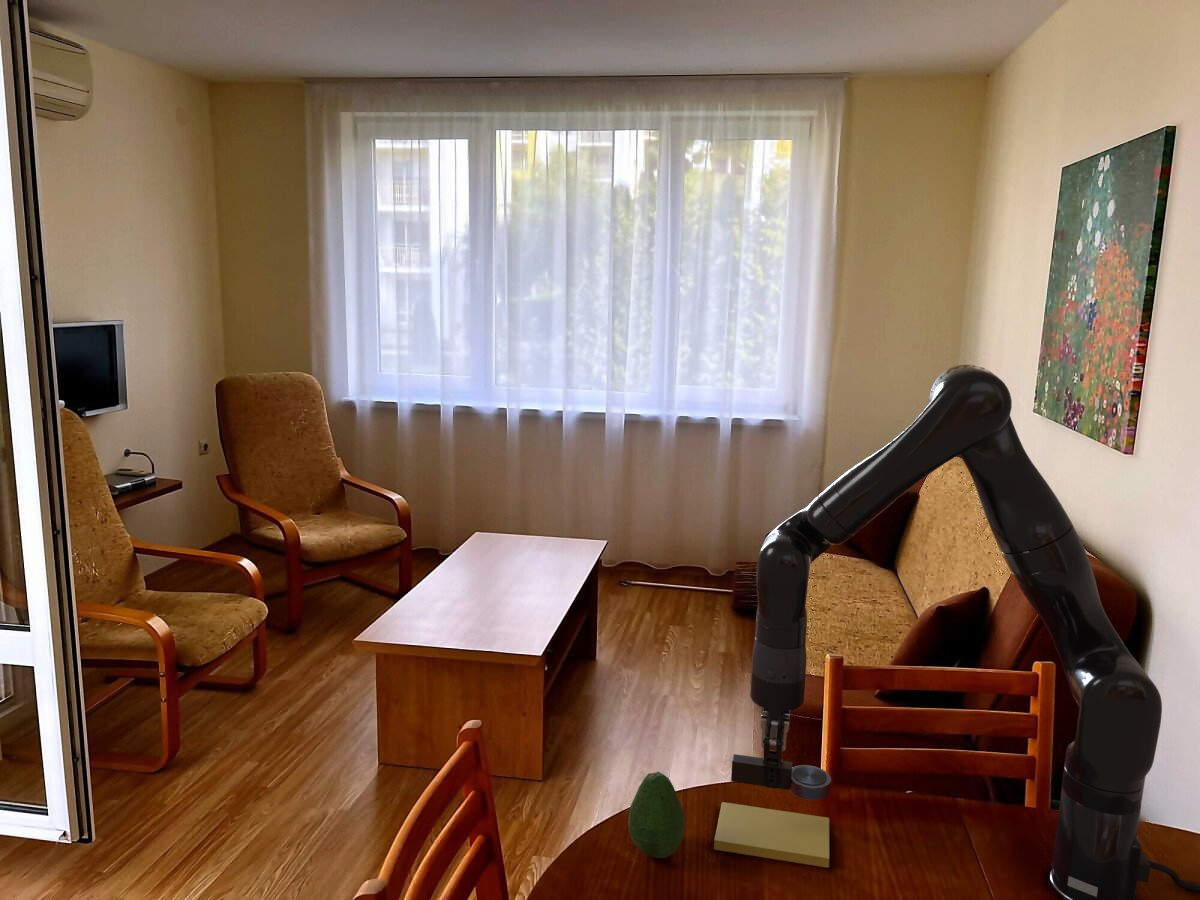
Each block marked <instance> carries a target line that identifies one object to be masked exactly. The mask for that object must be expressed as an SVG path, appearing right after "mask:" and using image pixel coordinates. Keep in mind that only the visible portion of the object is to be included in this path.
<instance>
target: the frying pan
mask: <svg viewBox="0 0 1200 900" xmlns="http://www.w3.org/2000/svg"><path fill="white" fill-rule="evenodd" d="M764 769H765V766H763V757H758V756H750V755H743V754H738V753H737V754H736V753H733V754H732V760H731V773H730V775H731V777H730V782H732V783H738V784H746V785H752V786H761V787H765V786H764ZM831 788H832V777H831V775H830V774H829V772H827V771H826V770H825V769H823V768H820V767H818V766H814V765H809V764H801V765H796V766H793V761H787V760H783V763H782V765H781V768H780V784H779V788H778V789H781V790H786V791H787V790H788V791H789V792H790V793H791V794H792V795H793V796H795V797H797V798H799V799H802V800H807V801H821V800H824V799H827V798H829V796H830V794H831V790H832V789H831Z"/></svg>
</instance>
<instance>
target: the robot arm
mask: <svg viewBox="0 0 1200 900" xmlns="http://www.w3.org/2000/svg"><path fill="white" fill-rule="evenodd" d="M928 397H929V398H928V399H929V400H928V405H927V406H926V407H925V408H924V409H923V411H921V413H920V414H919V415H918V416H917V417H916V418H915V419H914V420H913V422H912V423H911V424H910V425H909V426H907V428H905V429H904V430H903V431H902V432H901V433H900V434H899V435H897V436H896V437H895V438H893V440H891V441H890V442H888V443H887V444H886V445H884V446H883V447H882V448H880V449H879V450H877V451H876V452H874V453H873V454H871V455H870V456H867V457H866V458H865V459H863V460H862V461H860V462H858V463H857V464H855V465H854V466H853V467H851V468H850V469H848V470H847V471H846V472H844V473H843V474H842V475H840V476H839V477H838V478H837V479H836V480H834V481H833V482H832V483H831V484H830V485H829V486H827V487H826V488H825V489H824V490H823V491H821V492H820V493H818V494H819V495H817V496H816V497H815V498H814V499H813V500H812V501H810V503H809V504H808V505H807V506H805V507H804V508H803V509H800V510H799V511H797V512H796V513H794V514H793V515H792V516H790V517H788V518H787V519H786V520H784V521H783V522H782V523H780V524H779V525H778V526H777V527H775V528H774V529H773V530H772V531H770V532H769V534H768V535H767V536H766V537H765V539H764V540H763V541H762V544H761V547H760V550H759V552H758V556H757V563H756V597H757V608H756V615H755V632H754V642H753V647H752V655H751V656H752V657H751V672H750V691H749V693H750V695H749V696H750V699H751V701H752V702H753V703H754V704H755V705H757V706H758V707H760V708H762V710H761V711H762V712H761V715H760V716H761V717H760V729H761V748H762V749H763V757H762V758H763V766H765V769H764V786H763V787H765V788H768V789H775V790H776V789H779V784H780V768H781V765H782V763H783V761H784V760H783V752H785V751H786V750H787V740H788V739H787V738H788V732H789V730H790V721H791V711H795V710H798V709H799V708H801V707H802V706H803V704H804V702H805V691H806V676H807V675H806V674H807V660H808V659H807V656H808V655H807V643H806V642H807V630H808V629H807V628H808V610H807V607H806V605H807V597H808V588H809V579H810V570H811V565H812V564H813V562H814V561H816V559H818V558H819V557H820V556H821V555H822V554H824V553H825V552H826V551H828V550H829V549H830V548H831V547H833V546H838V545H841V544H843V543H845V542H846V541H848V540H850V539H851V538H852V537H854V535H856V534H857V533H859V532H860V531H861V530H862V529H863V528H864V527H866V526H867V525H868V524H869V523H871V522H872V521H873V520H874V519H876V518H877V517H878V516H879V515H880V514H881V513H883V512H884V511H885V510H886V509H887V508H888V507H889V506H891V505H892V504H893V503H895V502H896V501H897V500H898V499H899V498H900V497H902V496H903V495H904V494H905V493H906V492H908V491H909V490H910V489H912V488H913V487H914V486H915V485H917V484H918V483H919V482H920V481H922V480H923V479H924V478H926V477H928V476H929V475H930V474H932V473H934V471H936V470H937V469H939V468H940V467H942V466H943V465H945V464H947V463H948V462H949V461H951V460H953V459H955V458H956V457H958V456H960V459H961V460H962V461H963V463H964V465H965V467H966V468H967V471H968V472H969V474H970V477H971V479H972V481H973V484H974V487H975V489H976V493H977V497H978V498H979V501H980V504H981V508H982V510H983V513H984V515H985V519H986V520H987V523H988V526H989V528H990V530H991V533H992V535H993V538H994V540H995V543H996V545H997V547H998V549H999V551H1000V553H1001V555H1002V557H1003V559H1004V561H1005V563H1006V565H1007V567H1008V569H1009V572H1010V573H1011V575H1012V577H1013V578H1014V580H1015V582H1016V584H1017V585H1018V587H1019V589H1020V590H1021V592H1022V594H1023V596H1025V598H1026V600H1027V601H1028V603H1029V604H1030V605H1031V607H1032V608H1033V610H1034V611H1035V612H1036V614H1037V615H1038V617H1039V618H1040V619H1041V620H1042V622H1043V624H1044V625H1045V626H1046V629H1047V631H1048V633H1049V635H1050V638H1051V639H1052V641H1053V645H1054V647H1055V649H1056V651H1057V654H1058V657H1059V659H1060V662H1061V666H1062V668H1063V671H1064V674H1065V677H1066V681H1067V684H1068V687H1069V690H1070V692H1071V696H1072V697H1073V699H1074V701H1075V702H1076V703H1075V704H1076V705H1077V707H1078V716H1077V717H1078V718H1077V723H1076V731H1075V737H1074V740H1073V741H1072V742H1070V743H1069V745H1067V747H1066V750H1065V756H1064V757H1065V758H1064V763H1063V765H1064V766H1063V772H1062V773H1063V774H1062V783H1061V790H1060V799H1059V807H1058V815H1057V824H1056V831H1055V840H1054V849H1053V857H1052V863H1051V871H1050V875H1049V883H1050V885H1051V888H1052V889H1053V891H1054V892H1055V893H1056V894H1057V895H1058V896H1059V897H1060V898H1062V899H1063V900H1136V893H1137V885H1138V882H1143V883H1149V878H1150V872H1151V869H1153V870H1156V871H1159V872H1162V873H1164V874H1166V875H1168V876H1170V878H1171V880H1172V882H1173V883H1174V885H1176V886H1177V887H1180V888H1183V889H1185V890H1190V891H1194V892H1200V884H1195V883H1191V882H1188V881H1185V880H1182V879H1181V878H1180V877H1179V875H1178V873H1177V872H1176V871H1175V870H1174V869H1172V868H1171V867H1168V866H1166V865H1164V864H1161V863H1158V862H1155V861H1152V860H1148V859H1147V857H1146V855H1145V853H1144V852H1143V850H1142V849H1143V845H1142V843H1141V841H1140V840H1139V838H1138V833H1139V826H1140V818H1141V812H1142V811H1141V810H1142V804H1143V795H1144V789H1145V783H1146V778H1147V775H1148V774H1149V772H1150V771H1151V769H1152V767H1153V765H1154V761H1155V757H1156V751H1157V745H1158V742H1159V741H1158V740H1159V736H1160V730H1161V723H1162V716H1163V703H1162V697H1161V693H1160V691H1159V689H1158V688H1157V686H1156V685H1155V683H1154V681H1152V679H1151V678H1150V677H1149V675H1148V674H1147V672H1146V671H1145V670H1144V668H1143V667H1142V666H1141V665H1140V663H1139V662H1138V660H1136V659H1135V657H1134V656H1133V655H1132V654H1131V652H1130V651H1129V649H1128V647H1127V646H1126V645H1125V643H1124V642H1123V641H1122V639H1121V637H1120V636H1119V634H1118V633H1117V632H1118V631H1116V629H1115V627H1114V626H1113V624H1112V622H1111V620H1110V619H1109V617H1108V615H1107V614H1106V611H1105V609H1104V607H1103V604H1102V601H1101V598H1100V594H1099V591H1098V590H1099V589H1098V585H1097V582H1096V578H1095V574H1094V570H1093V568H1092V565H1091V562H1090V559H1089V557H1088V554H1087V552H1086V548H1085V546H1084V544H1083V543H1082V540H1081V539H1080V537H1079V535H1078V532H1077V531H1076V529H1075V527H1074V524H1073V522H1072V520H1071V518H1070V517H1069V515H1068V513H1067V511H1066V510H1065V507H1063V505H1062V504H1061V502H1060V500H1059V498H1058V497H1057V496H1056V495H1057V494H1055V492H1054V491H1053V490H1052V488H1051V486H1050V485H1049V484H1048V482H1047V480H1046V479H1045V478H1044V477H1043V475H1042V474H1041V472H1040V471H1039V469H1038V468H1037V467H1036V465H1035V463H1034V462H1033V461H1032V460H1031V458H1030V457H1029V455H1028V454H1027V452H1026V450H1025V448H1024V446H1023V443H1022V442H1021V439H1020V437H1019V435H1018V432H1017V430H1016V426H1015V425H1014V422H1013V420H1012V417H1011V412H1012V408H1013V407H1012V404H1013V403H1012V401H1013V400H1012V395H1011V393H1010V390H1009V388H1008V386H1007V385H1006V382H1004V381H1003V380H1002V379H1001V378H1000V377H998V376H997V375H996V374H994V373H993V372H992V371H990V370H989V369H987V368H985V367H982V366H979V365H975V364H958V365H954V366H951V367H949V368H947V369H946V370H943V372H942V373H941V374H940V375H939V376H938V377H937V378H936V379H935V381H934V382H933V384H932V386H931V389H930V393H929V396H928Z"/></svg>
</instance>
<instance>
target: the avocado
mask: <svg viewBox="0 0 1200 900" xmlns="http://www.w3.org/2000/svg"><path fill="white" fill-rule="evenodd" d="M628 814H629V815H628V821H627V824H628V832H629V835H630V838H631V840H632V842H633V843H634V845H635V847H636V849H638V851H640V852H641V853H643V854H645V855H647V856H649V857H651V858H653V859H667V858H668V857H670V856H672V855H674V854H675V853H676V852H677V851H678V849H679V847H680V846H681V844H682V841H683V837H684V835H685V831H686V822H685V814H684V810H683V807H682V804H681V801H680V798H679V796H678V794H677V792H676V788H675V787H674V785H673V783H672V781H671V780H670V778H669V777H668V776H667V775H665V774H664V773H662V772H661V771H656V772H651V773H647V774H646V776H645V777H644V778H643V780H642V781H641V783H640V785H639V786H638V789H637V790H636V793H635V795H634V797H633V799H632V802H631V804H630V806H629V813H628Z"/></svg>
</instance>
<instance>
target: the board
mask: <svg viewBox="0 0 1200 900" xmlns="http://www.w3.org/2000/svg"><path fill="white" fill-rule="evenodd" d="M713 849H714V851H721V852H727V853H734V854H739V855H746V856H752V857H759V858H764V859H772V860H778V861H782V862H790V863H795V864H801V865H808V866H815V867H821V868H828V869H829V868H830V817H825V816H819V815H812V814H805V813H799V812H794V811H793V812H792V811H785V810H779V809H772V808H766V807H759V806H752V805H745V804H738V803H731V802H724V801H722V802H721V805H720V810H719V815H718V821H717V826H716V831H715V835H714V843H713Z"/></svg>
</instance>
